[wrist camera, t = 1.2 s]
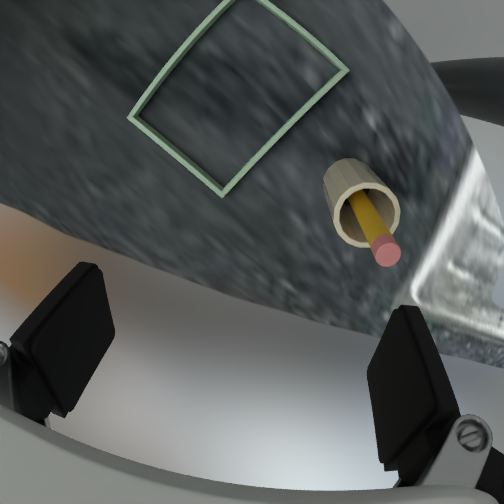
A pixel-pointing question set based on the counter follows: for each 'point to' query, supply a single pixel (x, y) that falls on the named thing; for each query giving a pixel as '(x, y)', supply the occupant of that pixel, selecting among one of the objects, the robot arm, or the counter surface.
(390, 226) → the pen cup
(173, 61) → the tray
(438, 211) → the counter surface
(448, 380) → the robot arm
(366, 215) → the pencil
